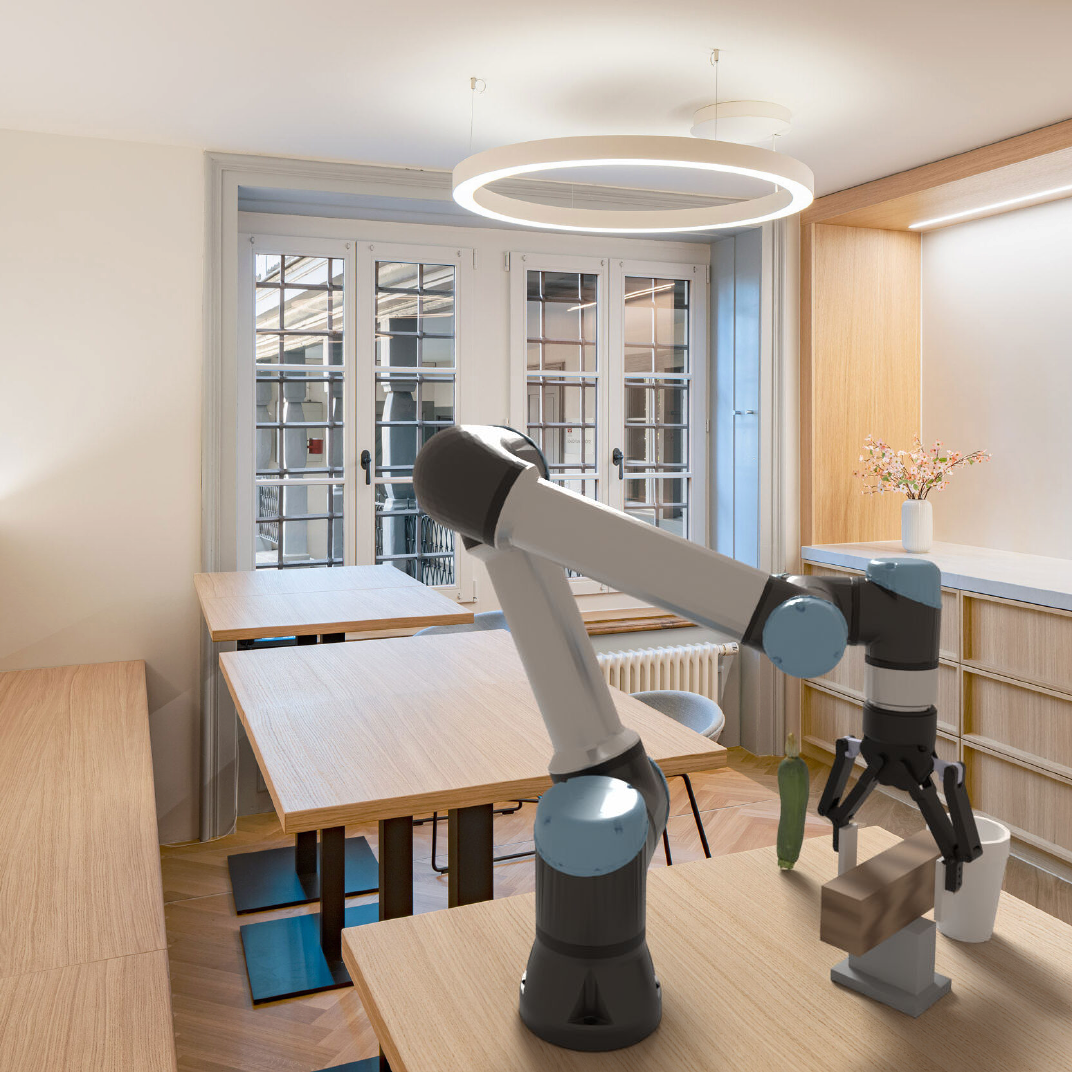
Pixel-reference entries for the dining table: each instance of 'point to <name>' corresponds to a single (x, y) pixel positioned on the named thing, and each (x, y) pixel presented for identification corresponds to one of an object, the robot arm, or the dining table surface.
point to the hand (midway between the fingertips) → (893, 898)
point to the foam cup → (979, 886)
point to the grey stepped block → (898, 970)
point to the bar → (880, 895)
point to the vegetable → (792, 804)
